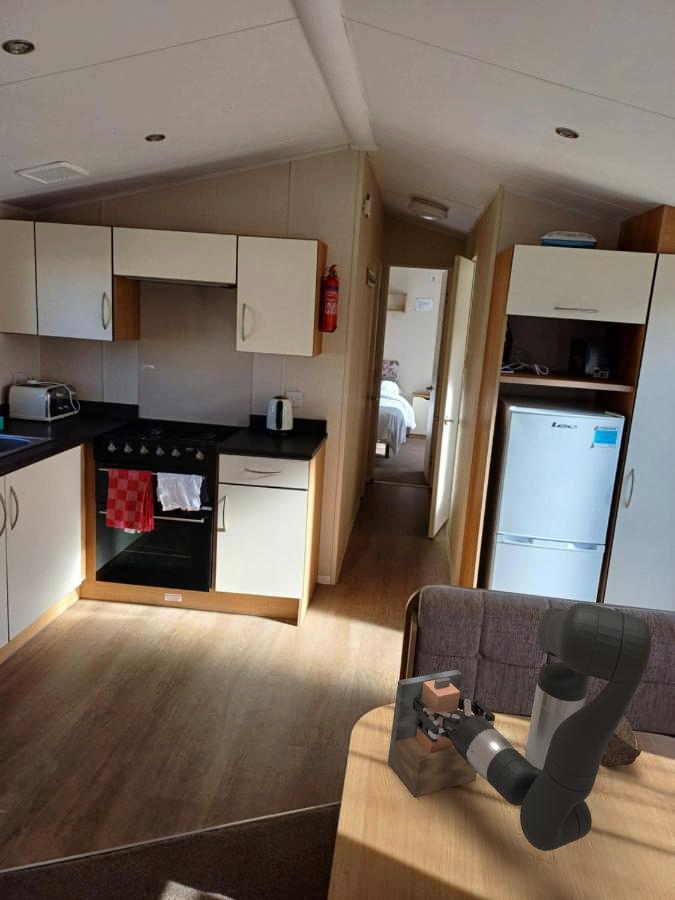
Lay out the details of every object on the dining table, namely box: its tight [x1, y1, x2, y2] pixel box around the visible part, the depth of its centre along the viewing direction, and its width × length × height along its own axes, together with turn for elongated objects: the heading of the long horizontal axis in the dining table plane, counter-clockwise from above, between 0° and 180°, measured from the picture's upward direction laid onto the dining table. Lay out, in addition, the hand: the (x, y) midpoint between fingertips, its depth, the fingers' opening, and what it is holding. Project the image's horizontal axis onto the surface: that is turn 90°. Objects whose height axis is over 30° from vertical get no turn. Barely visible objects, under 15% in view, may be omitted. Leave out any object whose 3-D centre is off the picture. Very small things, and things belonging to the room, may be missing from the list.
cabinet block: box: [416, 678, 461, 754], centre depth 125 cm, size 5×5×14 cm
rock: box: [601, 715, 643, 767], centre depth 135 cm, size 12×10×10 cm
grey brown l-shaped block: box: [387, 669, 478, 798], centre depth 125 cm, size 14×10×18 cm
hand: (433, 697), depth 126 cm, fingers open, 8 cm apart
